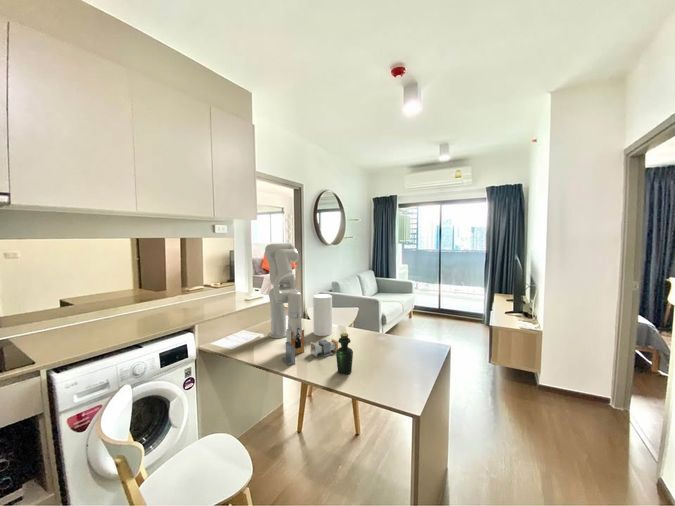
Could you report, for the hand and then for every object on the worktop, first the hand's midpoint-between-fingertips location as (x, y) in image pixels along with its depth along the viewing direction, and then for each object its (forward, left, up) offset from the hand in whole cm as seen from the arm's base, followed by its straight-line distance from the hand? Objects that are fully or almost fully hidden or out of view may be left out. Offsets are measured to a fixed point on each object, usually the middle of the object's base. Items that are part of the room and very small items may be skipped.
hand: (295, 345), depth 158 cm
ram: (+10, +13, -3) cm, 17 cm away
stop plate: (+10, -7, -4) cm, 13 cm away
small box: (0, 0, -4) cm, 4 cm away
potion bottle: (+34, +11, -4) cm, 36 cm away
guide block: (+10, +13, -4) cm, 17 cm away
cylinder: (-20, +28, -4) cm, 35 cm away
